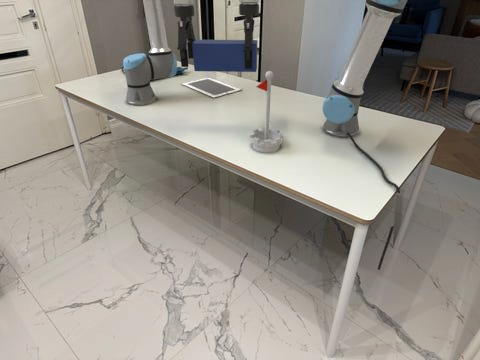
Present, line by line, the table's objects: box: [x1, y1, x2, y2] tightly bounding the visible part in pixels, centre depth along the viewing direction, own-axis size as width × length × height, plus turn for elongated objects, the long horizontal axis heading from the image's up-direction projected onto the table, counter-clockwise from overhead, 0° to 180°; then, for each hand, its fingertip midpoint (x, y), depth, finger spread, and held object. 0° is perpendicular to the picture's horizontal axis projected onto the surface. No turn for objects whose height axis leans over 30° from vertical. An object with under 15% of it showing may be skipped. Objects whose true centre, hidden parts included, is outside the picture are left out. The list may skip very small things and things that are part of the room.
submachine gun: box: [152, 66, 189, 81], centre depth 223 cm, size 34×4×25 cm
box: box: [192, 39, 258, 73], centre depth 137 cm, size 25×8×11 cm, turn 85°
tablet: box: [181, 77, 242, 99], centre depth 200 cm, size 32×20×1 cm, turn 41°
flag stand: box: [249, 70, 284, 153], centre depth 129 cm, size 13×13×30 cm
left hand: (188, 62), depth 140 cm, fingers open, 13 cm apart
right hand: (248, 65), depth 139 cm, fingers closed on box, 7 cm apart
